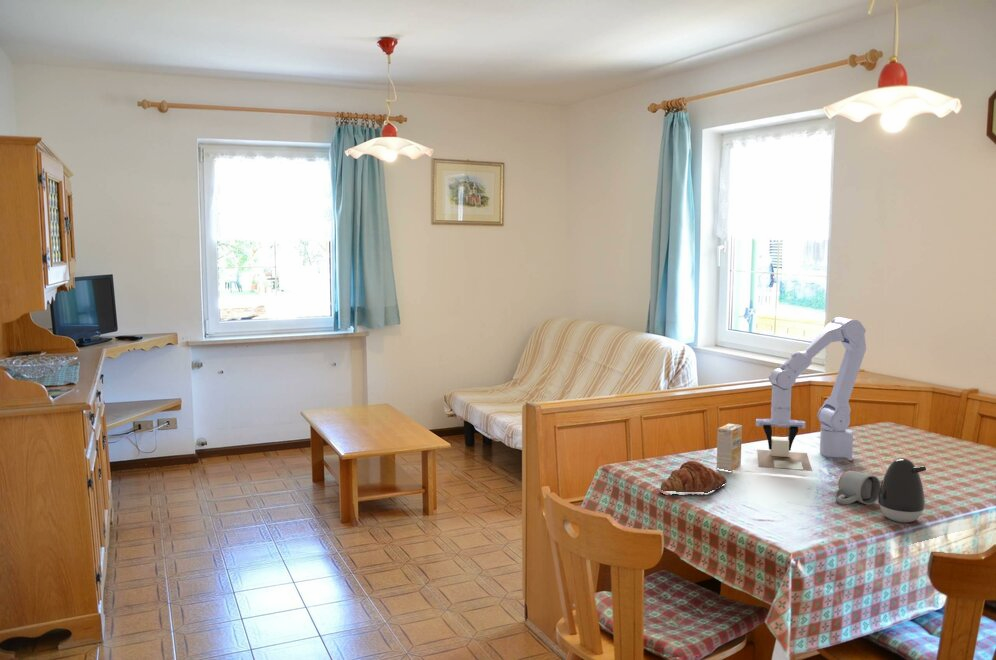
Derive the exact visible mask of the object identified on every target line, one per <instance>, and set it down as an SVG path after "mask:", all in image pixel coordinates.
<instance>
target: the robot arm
mask: <svg viewBox="0 0 996 660" xmlns="http://www.w3.org/2000/svg"><path fill="white" fill-rule="evenodd" d="M866 330H867V329H866V327H864V325H863V324H862V323H861V321H859V320H857V319H851V318H847V317H846V318H845V317H843V316H837V317H834V318H833V319H832V320H831V321H830V322H829V323H827V324H826V325H825V327H824V328H823V330H822V331H821V332H820V333H819V334H818V335H817V336H816V337H814V339H813V340H812V341H811V342H810V344H808V346H806V348H805V349H804V350H802V351H801V350H798V351H795V352H792V353H791V354H790V358H788V359H787V360H786V361H785V362H784V363H781V364H780V365H779V367H778V368H775V369H773V370H772V371H771V373H770V375H769V376H768V380H769V382H770V384H771V401H770V402H771V403H770V404H771V405H770V409H771V410H770V411H771V412H770V418H756V419H755V426H756V427H762V429H763V431H764V433H765V436H766V438H767V444H768V450H771V449H772V442H771V438H772V437H773V436H772V435H773V430H772V429H773V428H772V427H778V428H788V429H787V430H788V432H787V434H788V440H789V452H792V451H791V450H792V446H793V443H794V441H795V438H796V436H797V434H798V433H799V429H803V430H804V429H806V421H804V420H796V419H791V412H792V411H791V409H792V407H791V406H792V405H791V404H792V387H794V385H795V384H796V381H797V380H796V379H797V378H798V377H799V376H801V374H803V372H805V371H806V370H807V369H808V368H809V367H810V366H811V365H812V359H813V358H815V356H816V355H818V354H819V353H821V351H822V350H824V349H825V348H827V346H829V345H830V344H831V343H834V342H835V343H836V342H841V344H842V345H843V347H844V348H845V351H844V354H843V357H842V360H841V363H840V367H839V369H838V372H837V376H836V378H835V381H834V384H833V388H832V390H831V394H830V396H829V397H828V398H826V399H825V400H824V402H823V405H822V406H821V407H820V408H819V409H818V412H817V419H818V421H819V423H820V435H819V436H820V437H819V438H820V439H819V442H820V443H819V454H820V455H821V456H824V457H829V458H846V459H847V461H853V453H854V452H853V451H854V450H853V448H854V447H853V446H854V445H853V444H854V443H853V442H854V437H853V436H854V435H853V430H851V429H847V428H848V427H849V426H850V425H851V424H850V423H851V417H850V416H851V411H852V409H851V407H850V403H849V401H850V398H851V396H852V393H853V390H854V386H855V383H856V381H857V377H858V374H859V371H860V368H861V365H862V362H863V359H864V356H865V353H866V349H867V343H866V337H865V334H866Z"/></svg>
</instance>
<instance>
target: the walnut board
mask: <svg viewBox="0 0 996 660" xmlns="http://www.w3.org/2000/svg"><path fill="white" fill-rule="evenodd" d="M756 453H757V465H758V468H767V469H780V470H781V469H782V470H792V471H793V470H794V471H795V470H796V471H805V472H808V471H809V472H812V471H813V469H812V465H811V462H810V459H809V456H808V453H807V452H797V451H796V452H795V451H789V457H781V456H772V455H771V452H770V449H768V450H766V449H757V451H756Z"/></svg>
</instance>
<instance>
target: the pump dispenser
mask: <svg viewBox="0 0 996 660" xmlns="http://www.w3.org/2000/svg"><path fill="white" fill-rule="evenodd" d="M925 471H927V467H926V466H923V465H921V466H916V465H915V463H914V462H912V461H911V460H910V459H908V458H903V457H902V458H897V459H895V460H893V461H892V462H891V464H890V465H889V467H888V468H887V469H886V471H885V474H884V476H883V477H882V481H881V482H880V484H881V487H880V491H879V496H878V499H877V503H878V504H879V508H880V510H881V512H882V514H883V515H884V516H885V517H886V518H887V519H889V520H891V521H894V522H898V523H912V522H915V521H916V520H918V519H920V517H921V516H922V514H923V512H924V510H925V507H926V500H925V497H926V496H925V491H924V485H923V481H922V478H921V475H920V473H922V472H925Z"/></svg>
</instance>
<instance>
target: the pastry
mask: <svg viewBox="0 0 996 660" xmlns="http://www.w3.org/2000/svg"><path fill="white" fill-rule="evenodd" d="M725 483H726V484H727V478H726V477H725V476H724V475H723V474H722V472H720V471H718V472H717V471H715V470H714V469H713V468H710V467H707V466H705V465H704V464H703V463H701V462H698V461H694V460H689V461H686V462H684V463H682V464H681V466H680V467H679V469H675V470H672V471H671V473H670V475H669V476H668V478H667V479H666V480H664V481H663V482H662V483H661V485H660V489H661V490H663V491H676V492H704V493H708V492H710V491H712V490H715V489H716V488H719V487H721V486H722V485H723V484H725ZM726 484H725V485H726ZM721 488H722V487H721ZM660 489H659V490H660ZM716 490H717V489H716ZM716 490H715V491H716Z"/></svg>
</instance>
